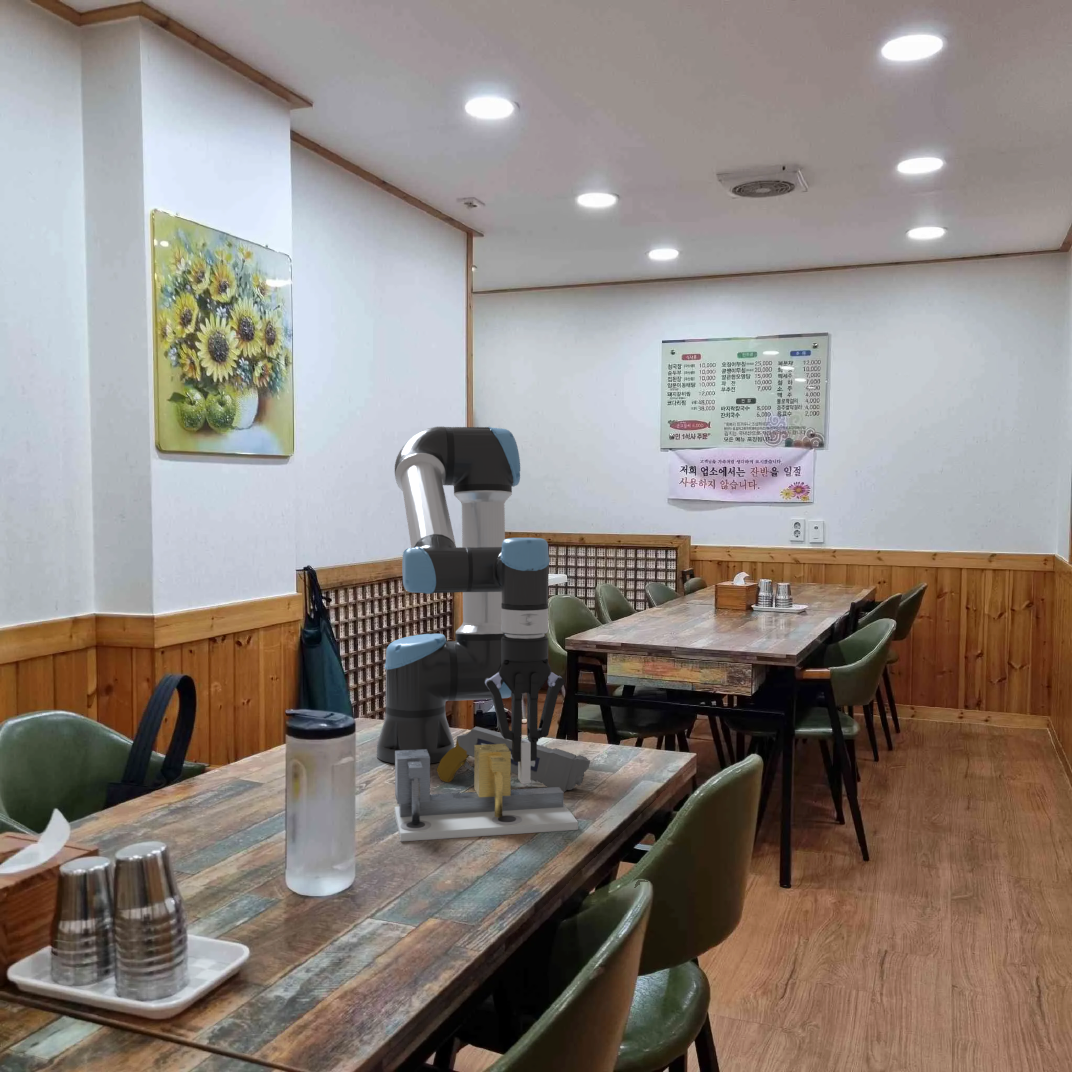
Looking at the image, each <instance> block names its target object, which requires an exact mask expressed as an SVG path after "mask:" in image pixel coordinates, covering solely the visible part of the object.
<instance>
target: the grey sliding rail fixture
mask: <svg viewBox="0 0 1072 1072" xmlns="http://www.w3.org/2000/svg"><path fill="white" fill-rule="evenodd" d="M394 775H395V776H394V777H395V778H394V780H395V781H394V792H395V793H394V794H395V799H396V804H397V805H398V806H399V814H400V817H411V816H412V823H413V824H418V823H420V816H428V815H444V814H460V813H477V812H493V811H495V796H494V797H479V796H478V794H477V792H476V791H467V792H450V793H431V763H430V756H429V754H428V751H427V749H422V750H401V751H395V763H394ZM564 793H565V792H563V791H562V790H561V789H560V787H551V788H549V787H537V788H535V787H534V788H521V789H520V788H516V789H511V796H503V807H502V811H509V810H526V809H542V808H558V807H563V803H564V798H565V796H564ZM564 804H565V803H564Z"/></svg>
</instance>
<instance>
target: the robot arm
mask: <svg viewBox="0 0 1072 1072" xmlns="http://www.w3.org/2000/svg"><path fill="white" fill-rule="evenodd" d="M394 478H395V481H396V482H395V483H396V484H397V487H398V488H399V490H400V491H402V494H403V501H404V506H405V507H404V508H405V514H406V521H407V527H408V535H409V540H410V547H409V548H408V547H407V548H405V549H404V551H403V554H402V560H401V561H402V563H401V565H402V570H401V572H402V573H401V574H402V584H403V585H402V586H403V587H404V589H405V591H406V592H409V593H415V594H416V593H419V594H420V593H422V594H426V595H428V594H446V593H447V594H448V593H450V594H451V593H462V621H463V622H462V623H461V625H460V626H459V627H458V628H457V629H456V630H455V641H453V640H451V641H447V638H446V636H445V635H444V634H442V633H424V634H423V633H422V634H417V635H410V636H405V637H402V638H399V639H395V640H393V641H392V642H390V643H389V644H388V646H387V647H386V650H385V651H386V652H385V653H386V654H385V663H384V669H385V718H384V722H383V724H382V728H381V731H380V734H379V737H378V740H377V743H376V758H378V759H379V760H380V761H383V762H385V763H388V764H389V763H390V764H395V751H401V750H422V749H427V751H428V754H429V756H430V764H434V763H435V764H436V763H440V761H441V759H442V758H443V757H444V756H445V755H446V753H447V752H448V751H449V750H450V749H452V748H454V747H455V742H454V741H455V740H454V738H453V735H452V732H451V729H450V725H449V723H448V722H449V721H448V720H447V715H446V702H450V701H451V702H452V701H474V700H475V701H477V700H490V701H492V703H493V709H494V711H495V716H496V720H497V724H498V729H499V733H501V735H502V736H503V737H504V738H505V739H509V740H512V758H513V760H514V762H518V774H517V779H518V781H519V782H520V784H524V785H525V784H531V779H530V767H531V761H536V758H537V745H538V742H539V740H540V739H542V738H546V737H548V736H549V733H550V730H551V729H550V728H551V725H552V721H553V717H554V712H555V709H556V704H557V700H558V695H559V692H560V691H561V689H562V688H563V686H564V684H565V682H566V681H565V678H563V677H562V676H561V675H557V674H555V673H554V672H552V667H551V666H550V663H549V637H548V636H547V635H545V634H547V633H548V632H549V574H550V573H549V571H550V570H549V568H550V565H549V564H550V562H551V561H550V556H549V543H548V541H547V540H546V539H545V538H541V537H508V538H506V531H505V530H506V529H505V528H506V527H505V525H506V522H505V521H506V519H505V514H506V511H505V509H506V508H505V503H506V501H507V500H508V499H510V497H512V495H513V490H512V489H513V487H515V486H518V485H519V484H520V479H521V459H520V453H519V448H518V445H517V440H516V439H515V436H514V435H513V433H512V432H511V431H510V430H509V429H507V428H501V427H499V428H498V427H491V426H485V427H483V426H480V427H479V426H434V427H433V426H432V427H429V428H426V429H422V430H421V431H419V432H417V433H416V434H414V435H413V436H412V437H411V438H409V439H408V440H407V441H406V442H405V444H404V445H403V446H402V447H401V448H400V450H399V452H398V454H397V456H396V460H395V463H394ZM444 486H453V496H454V497H455V498H456V499H457V500H459V502H460V504H461V538H462V539H461V543H462V544H461V547H458V546H457V545H456V540H455V536H454V530H453V527H452V522H451V516H450V513H449V509H448V508H449V507H448V503H447V498H446V493H445V489H444ZM546 681H547V685H548V688H547V690H546V695H545V699H544V703H543V707H542V710H541V711H542V712H541V716H540V720H539V724H538V719H539V718H538V717H539V716H538V714H539V713H538V711H539V710H538V709H539V708H538V706H539V705H538V704H539V703H538V700H539V691H540V690H541V689H542V687H543V685H544V684H545V683H546ZM525 693H526V705H527V706H526V736H527V738H522V736H523V734H522V731H523V730H522V729H523V728H522V724H523V722H522V720H523V715H522V714H523V704H522V703H523V694H525ZM508 698H511V725H510V726H511V728H510V726H509V724H508V720H507V719H508V717H507V714H506V710H505V706H504V701H503V699H508ZM510 729H511V730H510Z"/></svg>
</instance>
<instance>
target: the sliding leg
mask: <svg viewBox="0 0 1072 1072" xmlns="http://www.w3.org/2000/svg"><path fill="white" fill-rule="evenodd" d="M473 758H474V759H473V761H474V765H473V767H474V771H473V773H474V777H473V779H474V780H473V781H474V782H473V783H474V786H473V787H474V790H475V792H477V794H478V796H479V797H494V796H495V817H502V807H503V796H511V790H512V787H511V785H512V784H511V778H512V776H511V773H512V772H511V751H510V750H509V748H508V747H507V746H506V744H489V745H474V757H473Z"/></svg>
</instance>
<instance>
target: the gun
mask: <svg viewBox="0 0 1072 1072" xmlns="http://www.w3.org/2000/svg"><path fill="white" fill-rule="evenodd" d="M489 744H506V746H507V747H508V748H509V750H510V751H511V773H512V774H515V775H518V762H514V760H513V758H512V740H509V739H505V738H504V737H503V736H502V735H501V733H500V731H499V732H498V731H495V730H492V729H487V728H484V727H480V726H475V727H473V728H472V729H470V731H469V732H468V733H463V734H460V735H458V736H456V743H455V746H454V748H452V749H450V750H449V751H448V752H447V753H446V755H445V756H444V757H443V758H442V759H441V761H440V762H438V766H437V768H436V772H437V774H438V775H437V776H438V777H439V780H441V782H445V783H451V782H452V781H453V780H454V778H455V775H456V774H457V772H458V770H459V769H460V768H461V767H462V766H464V767H465V768H466V769H468V770H470V771H473V772H474V766H472V765H470V762H469V761H468V760H467V759H468V758H469V757H473V758H474V745H489ZM590 763H591V760H590V759H589V758H587V756H583V755H581V754H579V755H576V754H574V753H572V752H569V751H565V750H563V749H560V748H556V747H555V748H550V747H547V746H543V745H540V744H537V758H536V761H531V767H530V781H531V780H532V781H534V782H538V783H540V784H542V785H543V786H545V787H546V788H551V787H560V789H561V790H562V791H563V792H564V793H565V792H566V791H572V790H573V789H574V788H575V787H576V785H577V786H581V785H582V784H583V780H584V777H585V773H586V772H587V771H588V769H589V767H590Z"/></svg>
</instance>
